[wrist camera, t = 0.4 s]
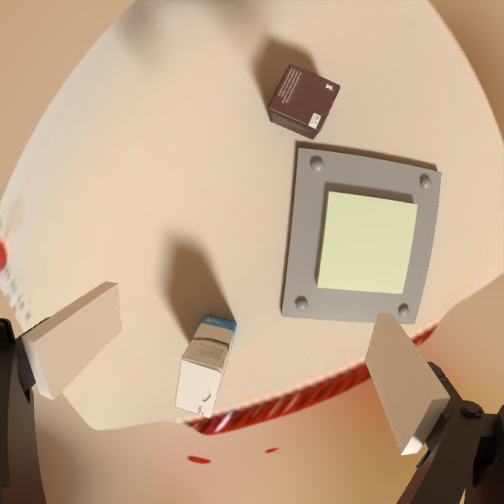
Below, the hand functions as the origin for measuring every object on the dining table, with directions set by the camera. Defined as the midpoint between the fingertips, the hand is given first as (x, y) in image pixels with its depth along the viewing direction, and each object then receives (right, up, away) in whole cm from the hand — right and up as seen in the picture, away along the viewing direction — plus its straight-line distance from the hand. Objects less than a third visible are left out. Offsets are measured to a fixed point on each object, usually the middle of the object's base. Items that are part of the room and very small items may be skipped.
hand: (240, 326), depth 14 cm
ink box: (-5, -10, +29) cm, 31 cm away
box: (+7, +21, +21) cm, 30 cm away
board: (+15, +5, +23) cm, 28 cm away
